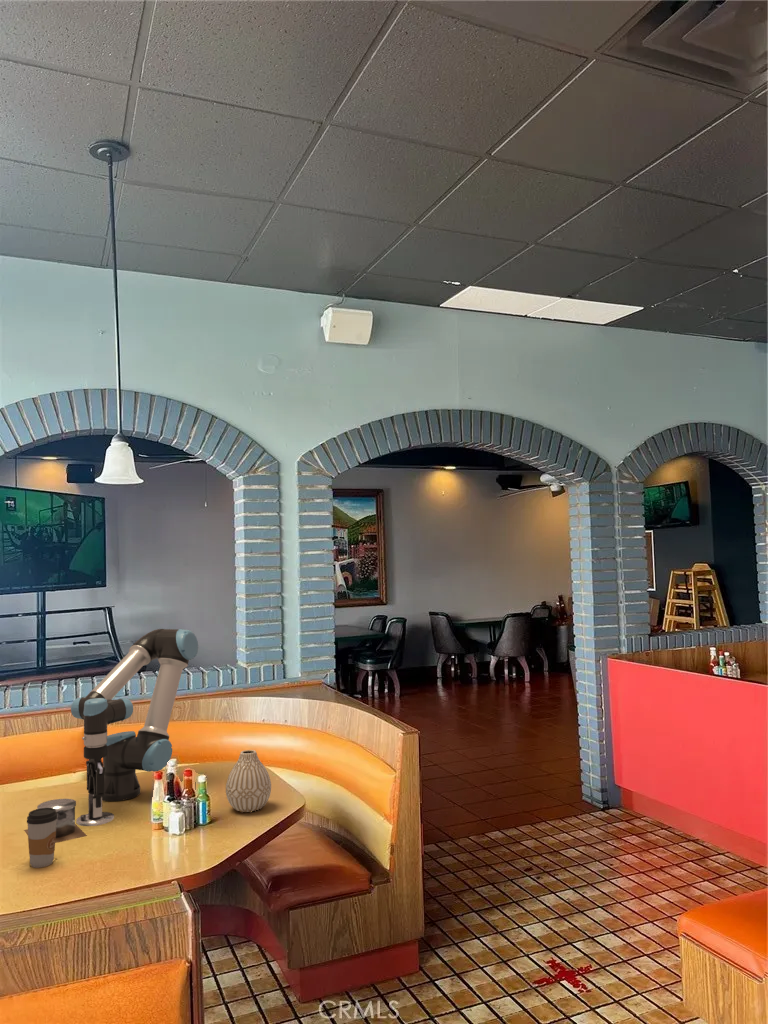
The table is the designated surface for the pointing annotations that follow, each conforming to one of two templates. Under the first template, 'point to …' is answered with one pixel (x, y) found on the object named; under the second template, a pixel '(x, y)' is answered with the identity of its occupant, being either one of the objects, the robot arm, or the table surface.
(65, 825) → the cooker pot
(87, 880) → the table surface
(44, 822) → the coffee cup
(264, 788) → the vase
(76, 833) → the walnut board
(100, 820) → the lid
